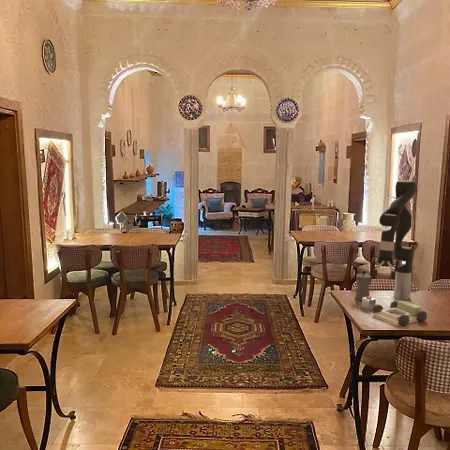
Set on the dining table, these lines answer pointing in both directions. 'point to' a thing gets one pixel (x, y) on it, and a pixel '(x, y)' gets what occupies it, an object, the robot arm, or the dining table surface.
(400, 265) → the robot arm
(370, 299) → the cube with copper knob
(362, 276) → the coffeepot
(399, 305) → the chassis
